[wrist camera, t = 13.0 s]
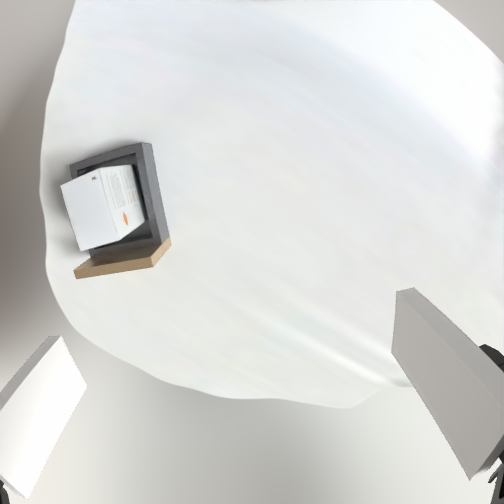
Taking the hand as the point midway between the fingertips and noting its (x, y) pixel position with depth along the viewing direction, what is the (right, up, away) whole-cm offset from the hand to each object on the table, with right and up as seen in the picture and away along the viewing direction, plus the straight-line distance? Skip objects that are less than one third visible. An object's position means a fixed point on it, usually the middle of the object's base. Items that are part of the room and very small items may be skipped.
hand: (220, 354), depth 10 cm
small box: (-16, +11, +27) cm, 34 cm away
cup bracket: (-17, +11, +28) cm, 35 cm away
